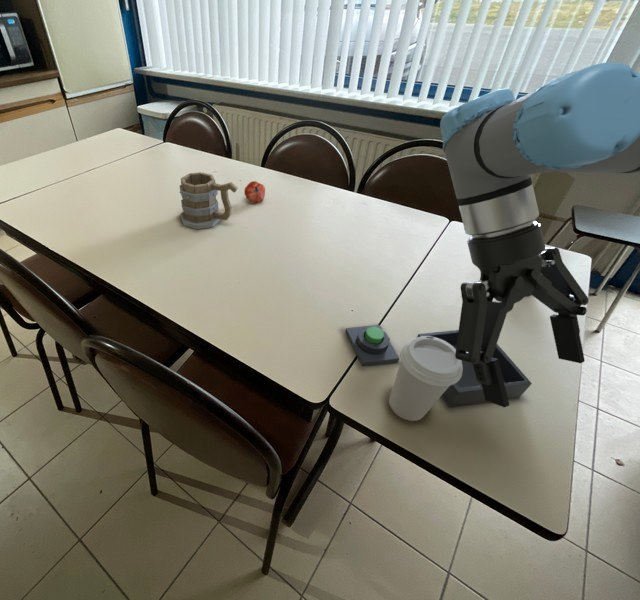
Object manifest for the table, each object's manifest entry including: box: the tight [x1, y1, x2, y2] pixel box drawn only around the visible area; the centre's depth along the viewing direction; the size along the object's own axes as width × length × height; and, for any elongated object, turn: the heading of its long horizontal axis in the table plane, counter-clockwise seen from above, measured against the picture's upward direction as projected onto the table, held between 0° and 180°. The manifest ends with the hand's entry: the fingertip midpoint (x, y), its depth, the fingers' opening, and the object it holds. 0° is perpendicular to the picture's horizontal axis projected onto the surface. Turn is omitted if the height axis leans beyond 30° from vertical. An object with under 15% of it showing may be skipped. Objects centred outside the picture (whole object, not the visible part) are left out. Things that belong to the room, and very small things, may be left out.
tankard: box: [179, 171, 239, 230], centre depth 116 cm, size 20×13×15 cm, turn 61°
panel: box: [344, 324, 400, 367], centre depth 79 cm, size 10×8×3 cm
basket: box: [416, 329, 533, 407], centre depth 73 cm, size 15×15×5 cm
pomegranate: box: [243, 180, 266, 204], centre depth 130 cm, size 7×7×10 cm
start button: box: [365, 327, 384, 345], centre depth 78 cm, size 4×4×2 cm
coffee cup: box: [388, 336, 463, 422], centre depth 64 cm, size 10×10×15 cm
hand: (535, 380), depth 49 cm, fingers open, 13 cm apart
